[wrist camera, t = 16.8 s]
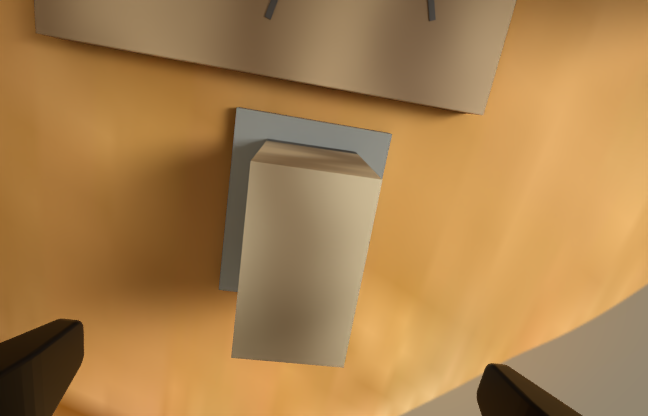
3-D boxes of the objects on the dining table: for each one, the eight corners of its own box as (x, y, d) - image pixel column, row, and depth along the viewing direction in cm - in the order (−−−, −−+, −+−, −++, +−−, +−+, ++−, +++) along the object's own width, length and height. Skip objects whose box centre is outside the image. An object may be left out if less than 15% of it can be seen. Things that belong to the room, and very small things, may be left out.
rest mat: (388, 133, 17) (391, 134, 16) (352, 299, 20) (353, 305, 19) (239, 107, 16) (236, 107, 16) (221, 283, 19) (218, 289, 18)
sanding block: (355, 151, 17) (382, 179, 11) (331, 286, 19) (343, 367, 13) (268, 138, 16) (250, 161, 11) (252, 278, 18) (231, 357, 13)
